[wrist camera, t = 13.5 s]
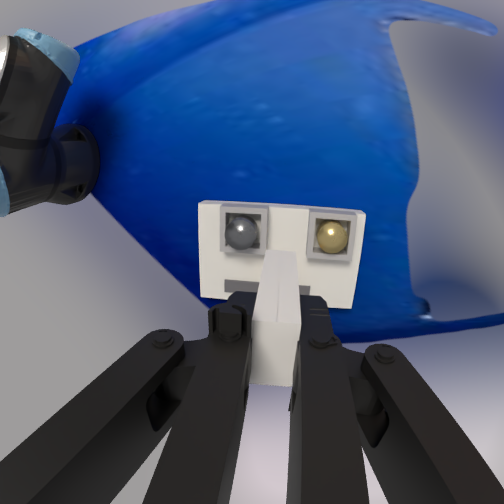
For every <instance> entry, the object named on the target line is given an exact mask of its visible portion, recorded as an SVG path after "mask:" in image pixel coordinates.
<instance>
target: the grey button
mask: <svg viewBox="0 0 504 504" xmlns="http://www.w3.org/2000/svg"><path fill="white" fill-rule="evenodd" d="M257 234H258V226H257V223H256V222H255V220H254V219H253V218H251V217H249V216H246V215H240V216H237V217H235V218H234V219H233V220H232V221H231V222H230V223H229V225H228V226H227V227H226V229H225V240H226V242H227V243H228V245H229V246H230V247H232V248H233V249H236V250H245V249H248V248H249V247H251V246H252V245H253V243H254V241H255V239H256V236H257Z"/></svg>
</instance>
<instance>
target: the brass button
mask: <svg viewBox="0 0 504 504" xmlns="http://www.w3.org/2000/svg"><path fill="white" fill-rule="evenodd" d="M316 236H317V240H318V244H319V246H320V248H321V249H322V250H323V251H325V252H327V253H337V252H339V251H341V250H342V249H343V248H344V247H345V246H346V244H347V239H348V237H347V233H346V231H345V229H344V228H343V226H342V225H341V223H340V222H338V221H337V220H334V219H327V220H324V221H322V222H321V223H320V224H319V225H318V227H317V230H316Z"/></svg>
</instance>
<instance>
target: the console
mask: <svg viewBox="0 0 504 504" xmlns="http://www.w3.org/2000/svg"><path fill="white" fill-rule="evenodd" d="M240 215H246V216H249V217H251V218H253V219H254V220H255V222H256V223H257V226H258V234H257V236H256V239H255V241H254V243H253V245H252V246H251V247H249V248H248V249H245V250H236V249H233V248H232V247H230V246H229V245H228V243H227V242H226V240H225V229H226V227H227V226H228V225H229V223H230V222H231V221H232V220H233V219H234V218H235V217H237V216H240ZM365 218H366V214H365V213H364V212H363V211H361V210H352V209H341V208H329V207H316V206H303V205H289V204H273V203H255V202H234V201H208V200H204V201H202V202H200V203H199V204H198V223H199V263H200V289H201V297H207V298H217V299H227V300H228V298H229V296H230V295H231V294H233V293H234V292H235V291H244V292H258V287H259V283H260V278H261V273H262V268H263V263H264V258H265V252H266V250H281V251H296V258H297V270H298V283H299V295H314V296H321V297H322V298H323V299H324V300H325V301H326V302H327V306H328V307H329V308H348V309H351V307H352V302H353V297H354V291H355V286H356V280H357V274H358V268H359V262H360V255H361V248H362V241H363V234H364V226H365ZM327 219H334V220H337V221H338V222H340V223H341V225H342V226H343V228H344V229H345V231H346V233H347V237H348V239H347V244H346V246H345V247H344V248H343V249H342V250H341V251H339V252H337V253H327V252H325V251H323V250H322V249H321V248H320V246H319V244H318V240H317V236H316V230H317V227H318V225H319V224H320V223H321V222H322V221H324V220H327Z"/></svg>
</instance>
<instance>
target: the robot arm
mask: <svg viewBox="0 0 504 504" xmlns="http://www.w3.org/2000/svg"><path fill="white" fill-rule="evenodd" d="M79 62H80V57H79V54H78V53H77V51H76V50H75V49H73V48H72V47H70V46H68V45H66V44H65V43H63V42H61V41H59V40H57V39H55V38H53V37H50V36H48V35H44V34H42V33H39V32H37V31H35V30H31V29H27V28H20V29H19V30H18V31H17V32H16V33H15V34H14V37H12V36H7V35H3V36H1V37H0V217H4V216H6V215H8V214H10V213H13V212H16V211H19V210H21V209H24V208H27V207H30V206H33V205H36V204H39V203H42V202H51V203H56V204H62V205H68V204H72V203H75V202H78V201H81V200H83V199H84V198H85V197H86V196H87V195H88V194H89V193H90V192H91V191H92V189H93V187H94V185H95V183H96V181H97V178H98V174H99V168H100V155H99V149H98V145H97V142H96V140H95V138H94V136H93V135H92V133H91V132H90V131H89V130H88V129H87V128H85V127H84V126H82V125H79V124H63V125H60V126H57V127H55V128H54V126H55V123H56V120H57V117H58V114H59V112H60V109H61V106H62V104H63V101H64V99H65V96H66V94H67V91H68V89H69V87H70V86H71V85H72V83H73V77H74V75H75V73H76V70H77V68H78V65H79ZM208 322H209V335H208V337H207V338H204V339H201V340H194V341H184V340H183V336H182V335H181V334H180V333H179V332H177V331H174V330H169V329H159V330H156V331H152V332H150V333H149V334H147V335H146V336H145V337H143V338H142V339H141V340H140V341H139V342H138V343H136V344H135V345H134V346H133V347H132V348H131V349H130V350H128V351H127V352H126V353H125V354H124V355H122V356H121V357H120V358H119V359H118V360H117V361H115V362H114V363H113V364H112V365H111V366H110V367H109V368H107V369H106V370H105V371H104V372H103V373H102V374H100V375H99V376H98V377H97V378H96V379H95V380H93V381H92V382H91V383H90V384H89V385H88V386H86V387H85V388H84V389H83V390H82V391H81V392H80V393H79V394H77V395H76V396H75V397H74V398H73V399H71V400H70V401H69V402H68V403H67V404H66V405H65V406H63V407H62V408H61V409H60V410H59V411H58V412H57V413H55V414H54V415H53V416H52V417H51V418H50V419H49V420H47V421H46V422H45V423H44V424H43V425H42V426H40V428H38V429H37V430H36V431H35V432H34V433H32V434H31V435H30V436H29V437H28V438H27V439H26V440H24V441H23V442H22V443H21V444H20V445H19V446H18V447H16V448H15V449H14V450H13V451H12V452H11V453H10V454H8V455H7V456H6V457H5V458H4V459H3V460H2V461H1V462H0V504H110V503H111V502H112V500H113V499H114V498H115V497H116V496H117V494H118V493H119V492H120V491H121V490H122V488H123V487H124V486H125V484H127V482H128V481H129V480H130V479H131V477H132V476H133V475H134V474H135V473H136V471H137V470H138V469H139V468H140V466H141V465H142V464H143V463H144V461H145V460H146V459H147V458H148V456H149V455H150V453H151V452H152V451H153V450H154V449H155V447H156V446H157V445H158V443H159V442H160V441H161V440H162V438H163V437H164V436H165V435H166V433H167V432H168V431H169V429H170V428H171V427H172V428H171V430H170V433H169V436H168V438H167V441H166V443H165V446H164V448H163V451H162V454H161V456H160V459H159V461H158V464H157V467H156V469H155V472H154V475H153V477H152V479H151V482H150V485H149V488H148V490H147V493H146V495H145V498H144V501H143V503H142V504H229V500H230V495H231V490H232V484H233V479H234V474H235V468H236V463H237V457H238V451H239V446H240V440H241V434H242V429H243V422H244V417H245V411H246V405H247V399H248V389H249V383H250V384H260V385H272V386H287V387H291V386H292V382H293V387H292V393H291V399H290V404H289V410H288V411H290V441H289V463H288V483H287V499H286V504H369V496H368V488H367V480H366V474H365V466H364V459H363V453H362V448H363V450H364V452H365V454H366V456H367V458H368V460H369V463H370V465H371V467H372V469H373V471H374V473H375V475H376V477H377V480H378V482H379V484H380V486H381V488H382V490H383V492H384V495H385V497H386V499H387V501H388V503H389V504H504V489H503V487H502V485H501V484H500V482H499V481H498V479H497V478H496V477H495V475H494V474H493V472H492V471H491V469H490V468H489V466H488V465H487V464H486V462H485V461H484V459H483V458H482V456H481V455H480V453H479V452H478V451H477V449H476V448H475V446H474V445H473V444H472V442H471V441H470V440H469V438H468V437H467V436H466V434H465V433H464V431H463V430H462V429H461V427H460V426H459V425H458V423H456V421H455V419H454V418H453V417H452V415H451V414H450V413H449V411H448V410H447V409H446V408H445V406H444V405H443V404H442V402H441V401H440V400H439V398H438V397H437V396H436V395H435V393H434V392H433V391H432V389H431V388H430V387H429V386H428V384H427V383H426V382H425V381H424V379H423V378H422V377H421V376H420V374H419V373H418V372H417V371H416V369H415V368H414V367H413V366H412V365H411V363H410V362H409V361H408V360H407V358H406V357H405V356H404V355H403V353H402V352H401V351H399V350H398V349H397V348H395V347H393V346H391V345H387V344H374V345H371V346H369V347H368V348H367V349H366V350H365V353H360V352H356V351H352V350H349V349H346V348H344V347H342V344H341V341H340V339H339V338H338V337H337V336H336V335H334V333H333V329H332V324H331V320H330V316H329V311H328V306H327V302H326V301H325V300H324V299H323V298H322V297H321V296H314V295H299V283H298V270H297V258H296V251H281V250H266V252H265V258H264V263H263V268H262V273H261V278H260V283H259V287H258V292H244V291H235V292H234V293H233V294H231V295H230V296H229V298H228V300H227V303H221V304H217V305H215V306H213V307H211V308H210V309H209V311H208Z"/></svg>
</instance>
